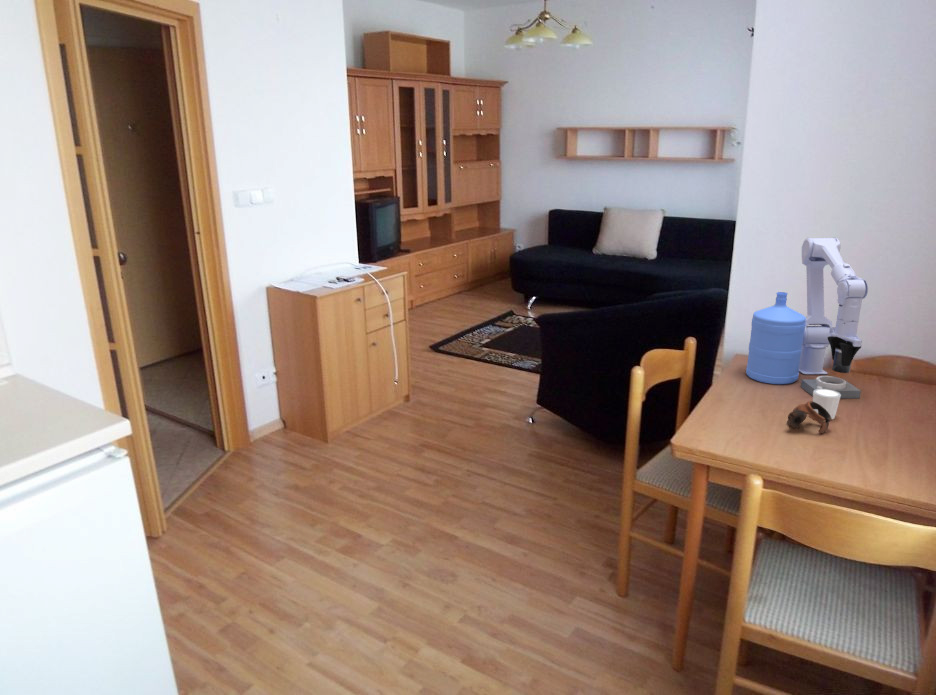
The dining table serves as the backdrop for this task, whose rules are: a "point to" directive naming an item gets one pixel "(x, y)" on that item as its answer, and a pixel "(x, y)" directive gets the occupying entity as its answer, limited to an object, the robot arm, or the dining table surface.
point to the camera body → (831, 386)
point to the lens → (839, 362)
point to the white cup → (827, 400)
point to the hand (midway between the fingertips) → (840, 362)
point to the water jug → (776, 343)
